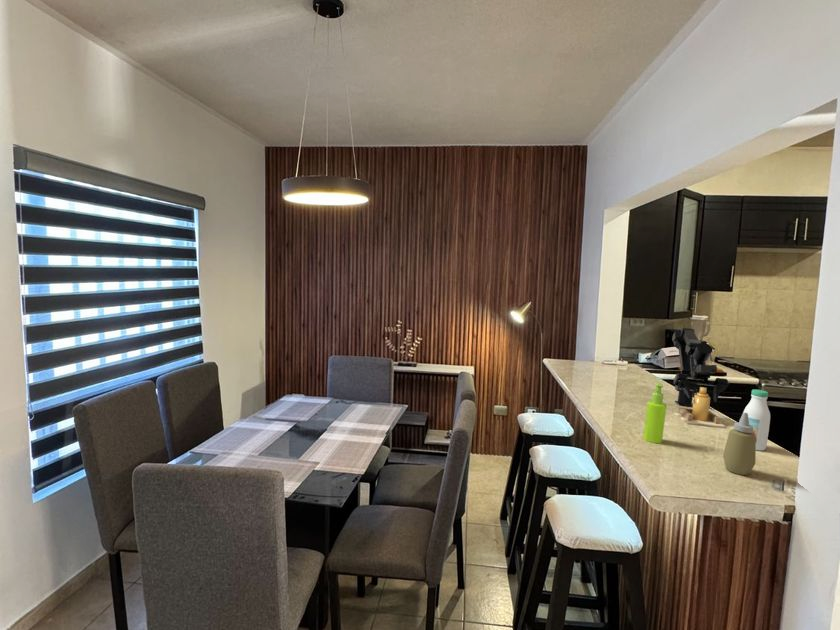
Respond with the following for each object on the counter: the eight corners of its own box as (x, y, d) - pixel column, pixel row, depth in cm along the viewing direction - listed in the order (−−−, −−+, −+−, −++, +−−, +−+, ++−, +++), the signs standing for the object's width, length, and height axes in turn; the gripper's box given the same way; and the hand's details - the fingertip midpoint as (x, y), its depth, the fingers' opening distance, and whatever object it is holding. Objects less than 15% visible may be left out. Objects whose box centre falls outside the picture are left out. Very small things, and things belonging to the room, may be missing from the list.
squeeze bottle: (714, 465, 142) (722, 408, 140) (739, 465, 142) (747, 409, 140) (734, 477, 134) (743, 417, 132) (760, 477, 134) (769, 418, 132)
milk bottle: (756, 443, 163) (764, 388, 161) (771, 452, 156) (779, 394, 153) (733, 441, 164) (741, 387, 162) (747, 450, 156) (755, 392, 154)
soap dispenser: (659, 437, 163) (666, 382, 161) (663, 444, 156) (670, 387, 154) (641, 434, 165) (648, 380, 163) (644, 441, 158) (651, 384, 156)
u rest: (674, 413, 194) (675, 406, 194) (710, 417, 192) (711, 410, 192) (687, 424, 181) (688, 416, 180) (726, 428, 178) (727, 420, 178)
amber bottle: (688, 416, 189) (692, 385, 187) (700, 416, 190) (704, 386, 188) (698, 421, 183) (702, 389, 182) (710, 421, 184) (715, 389, 183)
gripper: (678, 354, 190) (682, 386, 181) (730, 359, 185) (736, 392, 176) (672, 369, 199) (675, 400, 189) (721, 374, 193) (726, 407, 184)
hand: (702, 399), depth 184 cm, fingers open, 9 cm apart
